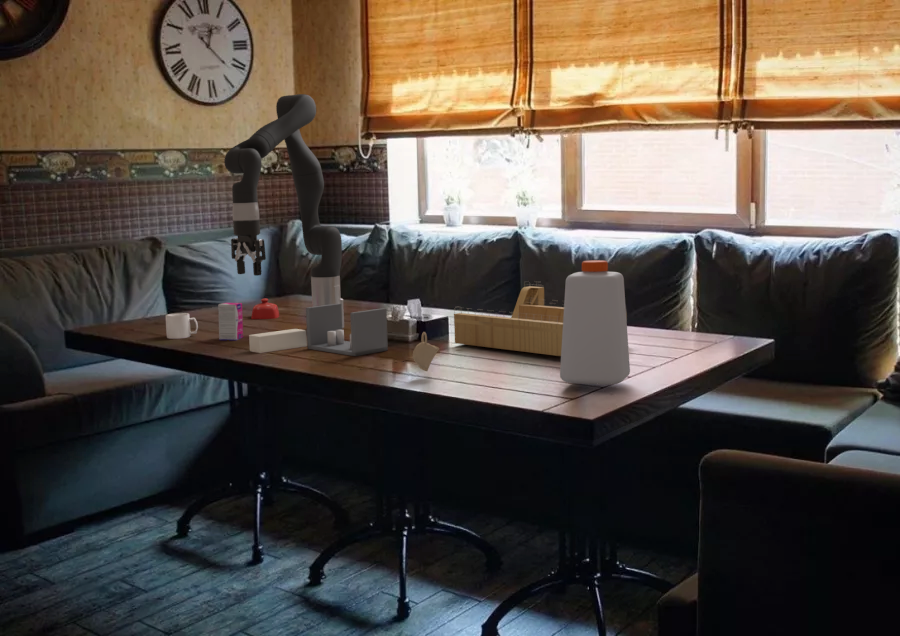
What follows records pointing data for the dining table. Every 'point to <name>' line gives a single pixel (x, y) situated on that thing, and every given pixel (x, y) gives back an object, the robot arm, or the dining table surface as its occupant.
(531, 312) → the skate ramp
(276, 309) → the butter dish
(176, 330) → the mug
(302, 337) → the cream rectangular block
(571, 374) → the plastic bottle
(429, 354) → the tan teacup
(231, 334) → the supplement box
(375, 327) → the peg stand
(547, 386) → the dining table surface
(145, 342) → the dining table surface
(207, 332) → the dining table surface
